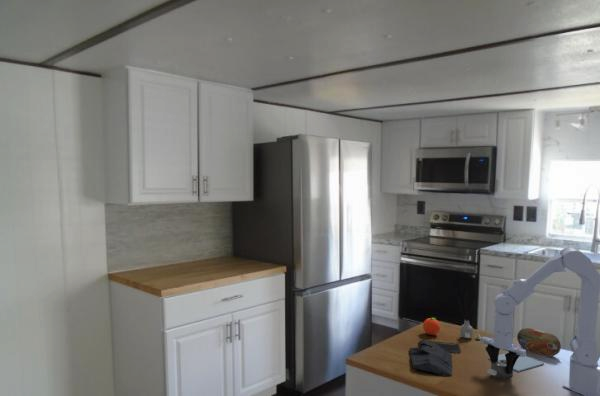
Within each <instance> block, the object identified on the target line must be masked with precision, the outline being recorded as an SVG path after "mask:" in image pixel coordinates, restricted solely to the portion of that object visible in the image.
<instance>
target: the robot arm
mask: <svg viewBox="0 0 600 396" xmlns="http://www.w3.org/2000/svg"><path fill="white" fill-rule="evenodd" d="M566 269H567V270H569V271H571V272H572V273H575V275H577V276H578V277H579V278H580V280H581V282H580V290H579V291H580V292H579V302H578V304H579V305H578V310H577V311H578V312H577V320H576V321H577V322H576V328H575V331H574V335H573V337H572V338H571V340H570V342H569V345H570V349H571V351H572V354H571V355H570V357H569V377H568V378H569V379H568V382H567V383H564V384H562V388H563V387H564V388H566V389H568V390H570V391H572V392H574V393H577V394H580V395H581V396H600V365H599V363H598V361H599V360H600V354H599V351H598V348H597V346H598V345H597V343H598V342H597V336H596V330H597V320H598V312H599V301H600V300H599V299H600V273H599V271H598V269H597V268H596V267H595V265H594V263H593V262H592V259H591V258H590V257H588V256H587V255H586V254H584V253H583V252H582V251H580V250H579V249H578V248H576V247H573V246H567V247H565V248H563V249H562V250H561V251H560V252H556V253H555V254H554V255H553V256H551V257H550V258H549V259H548V260H547V261H545V262H544V263H543V264H542V265H540V266H539V267H538V268H537V269H536V270H535V271H534V272H533V273H532V274H530V275H529V276H528V277H527V278H519V279H518V280H517V279H514V280H513V281H512V285H511V286H509V287H507V289H503V290H502V291H501V293H499V294H497V295H496V296H495V299H494V307H495V308H494V309H495V310H494V317H493V338H491V337H487V336H481V339H480V344H483V345H486V347H485V350H486V352H487V354H488V358H489V357H490V364H491V363H492V362H495V361H498V355H500V354H499V353H500V350H502V351H506V352H505V353H506V354H505V357H506V364H507V367H506V373H507V374H508V375H509V374H511V373H512V370H513V367H514V365H515V363H516V361H517V359H518V358H519V356H521V357H525V356H527V350H525V349H524V348H522V347H521V346H517V345H516V344H513V342H514V341H513V339H514V338H513V337H514V317H513V316H514V315H513V314H514V313H513V312H514V311H515V308H516V306H519V305H520V304H521V303H523V302H524V301H525V300H526V299H528V298H529V297H531V295H533V294H534V293H535V287H536V286H537V285H539V284H541V283H542V282H543V281H544V280H546V279H547V278H548V277H550V276H551V275H552V274H554V273H562V272H563V273H564V272H566ZM508 352H509V353H508ZM513 371H514V370H513Z"/></svg>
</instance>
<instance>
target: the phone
mask: <svg viewBox="0 0 600 396" xmlns="http://www.w3.org/2000/svg"><path fill="white" fill-rule="evenodd" d="M422 340H423V339H420V340H419V342H418V348H420V343H421V342H422ZM428 341H429V342H432V343H435V344H437V345H438V346H440V347H441V348H442V349H443V350H445V351H448V352H449V353H451V354H452V353H453V354H460V353H461V348H460V344H457V343H450V342H443V341H434V340H433V341H432V340H428Z"/></svg>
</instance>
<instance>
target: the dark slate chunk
mask: <svg viewBox="0 0 600 396" xmlns="http://www.w3.org/2000/svg"><path fill="white" fill-rule="evenodd" d="M421 340H422V342H421V343H420V348H419V347H410V348H409V355H410V360H411V366H412V367H413V368H414V369H415V370H417V371H423V372H427V373H430V374H435V375H439V376H443V377H452V376H453V356H452V352H448V351H445V350H443V349H442V348H441V347H440V346H438V345H437V344H435V343H432V342H429V341H430V340H426V339H421Z"/></svg>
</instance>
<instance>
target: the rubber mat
mask: <svg viewBox="0 0 600 396" xmlns="http://www.w3.org/2000/svg"><path fill="white" fill-rule="evenodd" d="M506 353H509V352H508V351H507V352H505V353H502V354H499V355H498V361H499V360H506V357H505V354H506ZM487 359H488V360H490V357H489V356H488V358H487ZM490 361H491V360H490ZM544 365H545V363H544V362H542V361H539V360H537V359H534V358H532V357H529V356H527V355H526V356H525V357H521V356H519V358H518V359H517V361H516V363H515V365H514V367H513V372H514V371H515V372H517V373H520V372H523V371H526V370H530V369H533V368H537V367H540V366H544Z"/></svg>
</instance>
